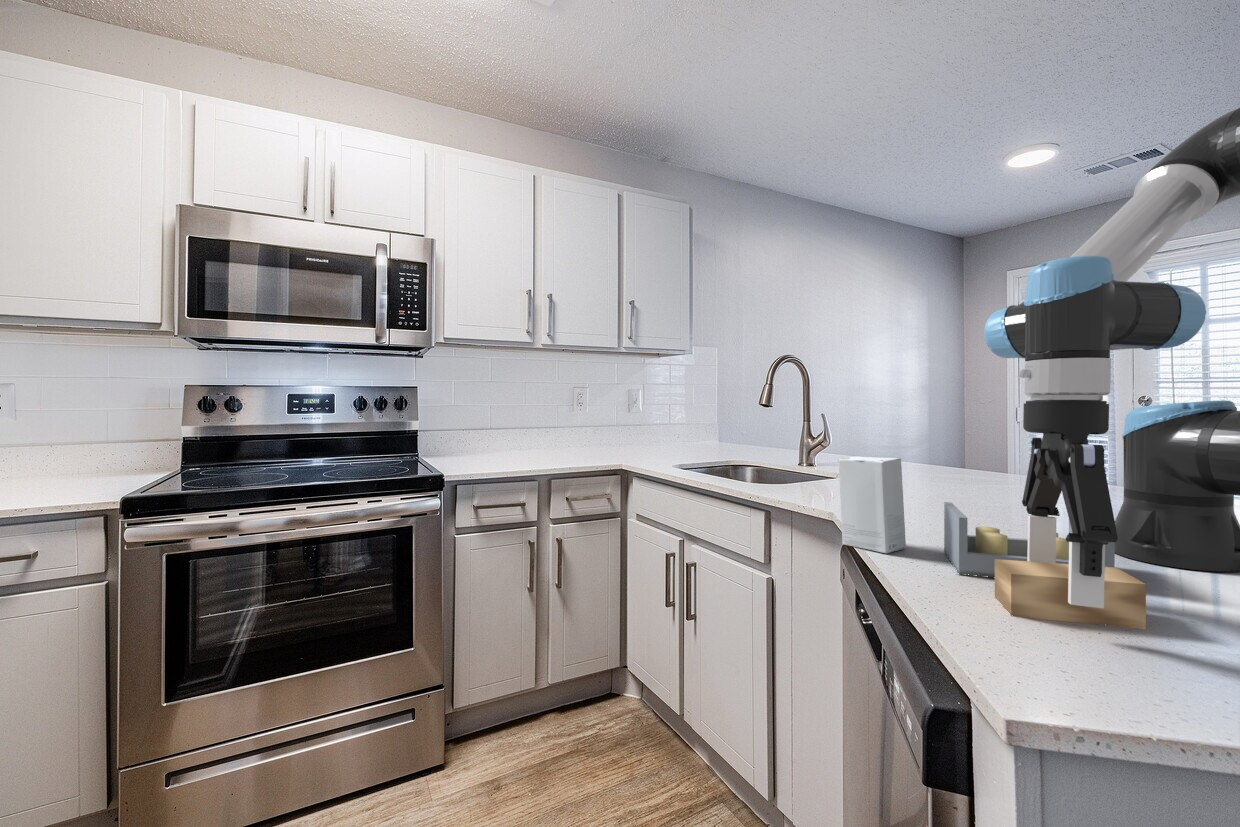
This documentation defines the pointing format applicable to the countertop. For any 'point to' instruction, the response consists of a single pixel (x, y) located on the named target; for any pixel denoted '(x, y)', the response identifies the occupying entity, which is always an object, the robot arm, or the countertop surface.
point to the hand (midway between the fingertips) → (1061, 585)
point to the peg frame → (993, 546)
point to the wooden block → (1047, 594)
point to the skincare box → (872, 503)
